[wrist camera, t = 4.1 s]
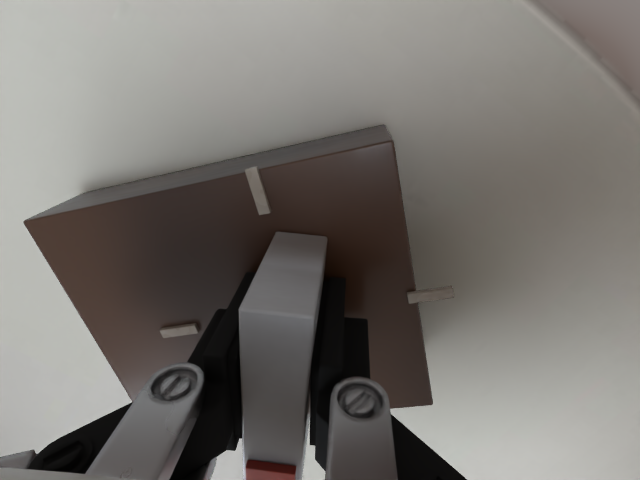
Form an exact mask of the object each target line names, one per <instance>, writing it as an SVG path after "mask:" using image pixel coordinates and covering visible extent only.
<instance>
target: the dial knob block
mask: <svg viewBox="0 0 640 480" xmlns="http://www.w3.org/2000/svg"><path fill="white" fill-rule="evenodd" d="M24 224H25V226H26V228H27V229H28V231H29V233H30V234H31V236H32V238H33V239H34V241H35V242H36V244H37V246H38V247H39V249H40V251H41V252H42V254H43V256H44V257H45V259H46V261H47V262H48V264H49V265H50V267H51V269H52V270H53V272H54V274H55V275H56V277H57V279H58V280H59V282H60V283H61V285H62V287H63V288H64V290H65V292H66V293H67V295H68V297H69V298H70V300H71V302H72V303H73V305H74V306H75V308H76V310H77V311H78V313H79V315H80V316H81V318H82V320H83V321H84V323H85V324H86V326H87V328H88V329H89V331H90V333H91V334H92V336H93V338H94V339H95V341H96V343H97V344H98V346H99V347H100V349H101V351H102V352H103V354H104V356H105V357H106V359H107V361H108V362H109V364H110V365H111V367H112V369H113V370H114V372H115V374H116V375H117V377H118V379H119V380H120V382H121V384H122V385H123V387H124V388H125V390H126V392H127V393H128V395H129V397H130V398H131V400H132V402H134V400H135V399H136V397H137V396H138V394H139V393H140V391H141V390H142V388H143V387H144V385H145V384H146V382H147V381H148V380H149V378H150V377H151V376H152V375H153V374H154V373H155V372H157V371H158V370H160V369H161V368H163V367H166V366H168V365H170V364H175V363H182V362H187V361H188V359H189V358H190V356H191V354H192V352H193V351H194V349H195V347H196V345H197V344H198V342H199V340H200V338H201V337H202V335H203V333H204V331H205V330H206V328H207V326H208V324H209V323H210V321H211V319H212V317H213V316H214V314H215V312H216V311H217V310H218V309H227V308H228V306H229V304H230V302H231V300H232V298H233V296H234V295H235V293H236V291H237V289H238V287H239V285H240V283H241V281H242V280H243V278H244V276H245V274H246V273H247V272H255V273H256V272H257V270H258V268H259V266H260V264H261V262H262V260H263V258H264V256H265V254H266V252H267V249H268V247H269V245H270V243H271V241H272V239H273V237H274V235H275V233H276V232H287V233H297V234H306V235H316V236H325V237H327V239H328V240H327V251H326V262H325V273H324V281H329V280H330V277H336V278H346V288H345V310H344V317H349V318H363V319H367V320H368V338H369V359H370V379H371V380H373V381H375V382H377V383H378V384H379V385H381V386H382V387H383V389H384V390H385V391H386V393H387V395H388V398H389V403H390V409H392V408H403V407H414V406H425V405H432V404H433V400H432V393H431V387H430V380H429V373H428V367H427V360H426V353H425V347H424V340H423V333H422V327H421V320H420V313H419V307H418V303H419V302H426V301H433V300H440V299H447V298H454V293H453V287H452V286H446V287H439V288H433V289H426V290H419V291H416V287H415V280H414V273H413V267H412V260H411V253H410V247H409V240H408V233H407V227H406V220H405V213H404V207H403V200H402V193H401V187H400V180H399V173H398V167H397V160H396V153H395V147H394V141H393V140H392V138H391V136H390V134H389V132H388V130H387V128H386V126H385V125H380V126H376V127H371V128H367V129H363V130H358V131H354V132H349V133H345V134H341V135H336V136H332V137H327V138H323V139H319V140H314V141H310V142H305V143H301V144H297V145H292V146H288V147H284V148H279V149H275V150H270V151H266V152H262V153H257V154H253V155H248V156H244V157H240V158H235V159H231V160H226V161H222V162H218V163H213V164H209V165H204V166H200V167H196V168H191V169H187V170H182V171H178V172H174V173H169V174H165V175H161V176H156V177H152V178H147V179H143V180H139V181H134V182H130V183H125V184H121V185H117V186H112V187H108V188H103V189H99V190H95V191H90V192H86V193H83V194H80V195H78V196H76V197H74V198H72V199H70V200H68V201H65V202H63V203H61V204H59V205H57V206H55V207H52V208H50V209H48V210H46V211H44V212H42V213H39V214H37V215H35V216H33V217H31V218H29V219H26V220H25V221H24Z"/></svg>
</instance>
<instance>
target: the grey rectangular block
mask: <svg viewBox="0 0 640 480" xmlns="http://www.w3.org/2000/svg"><path fill="white" fill-rule="evenodd" d="M327 240H328V239H327V237H325V236H316V235H306V234H297V233H287V232H276V233H275V235H274V237H273V239H272V241H271V243H270V245H269V247H268V249H267V252H266V254H265V256H264V258H263V260H262V262H261V264H260V266H259V268H258V270H257V272H256V274H255V276H254V278H253V281H252V283H251V285H250V287H249V289H248V291H247V293H246V295H245V297H244V299H243V301H242V303H241V305H240V308H239V341H240V376H241V411H242V446H243V480H302V475H303V467H304V459H305V451H306V444H307V436H308V428H309V421H310V384H311V363H312V355H313V348H314V342H315V335H316V328H317V322H318V315H319V308H320V302H321V295H322V288H323V282H324V273H325V262H326V251H327Z"/></svg>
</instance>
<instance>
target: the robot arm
mask: <svg viewBox="0 0 640 480" xmlns="http://www.w3.org/2000/svg"><path fill="white" fill-rule="evenodd" d="M255 274H256V273H255V272H247V273H246V274H245V276H244V278H243V280H242V281H241V283H240V285H239V287H238V289H237V291H236V293H235V295H234V296H233V298H232V300H231V302H230V304H229V306H228V308H227V309H218V310H217V311H216V312H215V314H214V316H213V317H212V319H211V321H210V323H209V324H208V326H207V328H206V330H205V331H204V333H203V335H202V337H201V338H200V340H199V342H198V344H197V345H196V347H195V349H194V351H193V352H192V354H191V356H190V358H189V359H188V361H187V362H182V363H175V364H170V365H168V366H166V367H163V368H161V369H160V370H158V371H157V372H155V373H154V374H153V375H152V376H151V377H150V378H149V380H148V381H147V382H146V384H145V385H144V387H143V388H142V390H141V391H140V393H139V394H138V396H137V397H136V399H135V400H134V402H132V403H130V404H128V405H126V406H124V407H122V408H120V409H118V410H116V411H114V412H112V413H110V414H108V415H105V416H103V417H101V418H99V419H97V420H95V421H93V422H91V423H89V424H87V425H85V426H83V427H81V428H79V429H77V430H75V431H73V432H71V433H69V434H67V435H65V436H63V437H61V438H59V439H57V440H56V441H54V442H52V443H51V444H49V445H48V446H47V447H45V448H44V449H43V450H42V451H41V452H39V454H36V453H35V451H34V450H30V451H25V452H21V453H16V454H12V455H8V456H3V457H0V480H210V479H211V477H212V474H213V471H214V468H215V465H216V460H217V458H216V457H217V456H218V455H220V454H221V453H223V452H224V451H226V450H233V451H235V450H236V447H237V444H238V441H239V438H242V411H241V376H240V341H239V308H240V305H241V303H242V301H243V299H244V297H245V295H246V293H247V291H248V289H249V287H250V285H251V283H252V281H253V278H254V276H255ZM345 288H346V278H336V277H330V280H329V281H324V282H323V288H322V295H321V302H320V308H319V315H318V322H317V328H316V335H315V342H314V348H313V355H312V363H311V384H310V445H315V460H316V461H317V462H318V463H319V464H320V466H321V467H322V468H323V469H324V470H325V471H326V474H325V480H466V479H465V477H463V476H462V475H461V474H460V473H459V472H458V471H456V470H455V469H454V468H453V467H452V466H451V465H449V464H448V463H447V462H446V461H445V460H444V459H442V458H441V457H440V456H439V455H438V454H437V453H435V452H434V451H433V450H432V449H431V448H430V447H428V446H427V445H426V444H425V443H424V442H423V441H422V440H420V439H419V438H418V437H417V436H416V435H415V434H413V433H412V432H411V431H410V430H409V429H408V428H406V427H405V426H404V425H403V424H402V423H401V422H399V421H398V420H397V419H396V418H395V417H394V416H392V415H391V413H390V403H389V398H388V395H387V393H386V391H385V390H384V389H383V387H382V386H381V385H379V384H378V383H377V382H375V381H373V380H371V379H370V359H369V338H368V320H367V319H363V318H349V317H344V310H345Z"/></svg>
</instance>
